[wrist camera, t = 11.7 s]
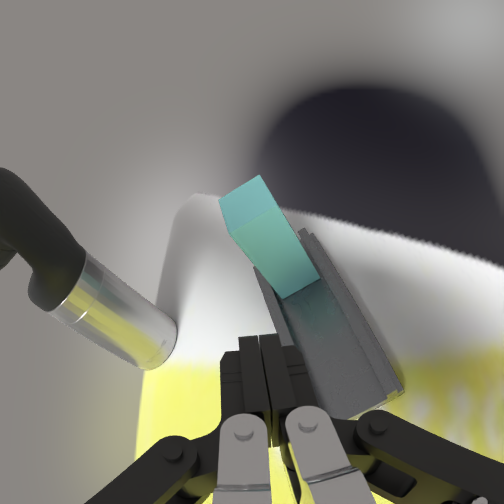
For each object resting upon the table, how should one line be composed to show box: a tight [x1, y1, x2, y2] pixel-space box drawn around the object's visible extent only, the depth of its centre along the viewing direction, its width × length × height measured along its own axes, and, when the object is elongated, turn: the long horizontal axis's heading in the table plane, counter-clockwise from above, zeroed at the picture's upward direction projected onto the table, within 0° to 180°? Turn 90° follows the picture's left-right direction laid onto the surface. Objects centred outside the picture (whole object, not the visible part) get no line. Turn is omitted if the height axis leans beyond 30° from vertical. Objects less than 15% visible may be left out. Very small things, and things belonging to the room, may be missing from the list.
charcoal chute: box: [253, 228, 404, 420], centre depth 33 cm, size 23×9×3 cm, turn 15°
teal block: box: [219, 175, 320, 299], centre depth 34 cm, size 6×5×12 cm
